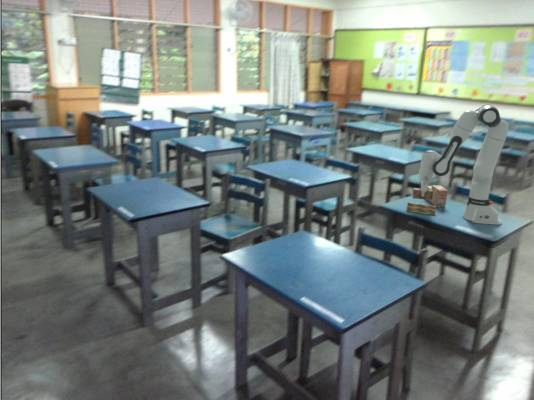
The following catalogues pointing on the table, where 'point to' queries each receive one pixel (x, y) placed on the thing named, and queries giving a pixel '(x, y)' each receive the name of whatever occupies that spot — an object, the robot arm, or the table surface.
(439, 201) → the stack of blocks
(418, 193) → the walnut block
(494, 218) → the robot arm
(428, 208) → the tan shallow tray
